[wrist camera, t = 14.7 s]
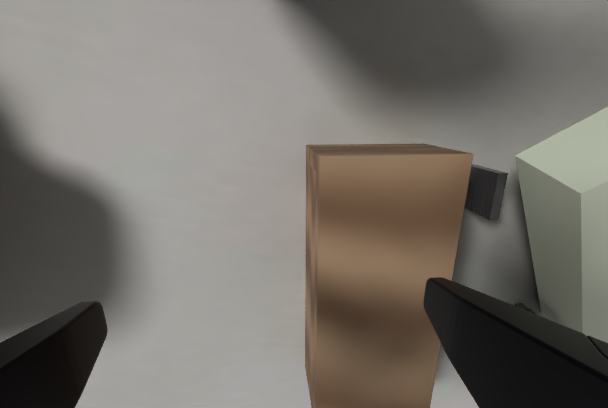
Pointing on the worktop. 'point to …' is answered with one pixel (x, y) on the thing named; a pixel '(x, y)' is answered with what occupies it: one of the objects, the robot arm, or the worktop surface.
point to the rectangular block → (570, 223)
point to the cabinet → (382, 265)
